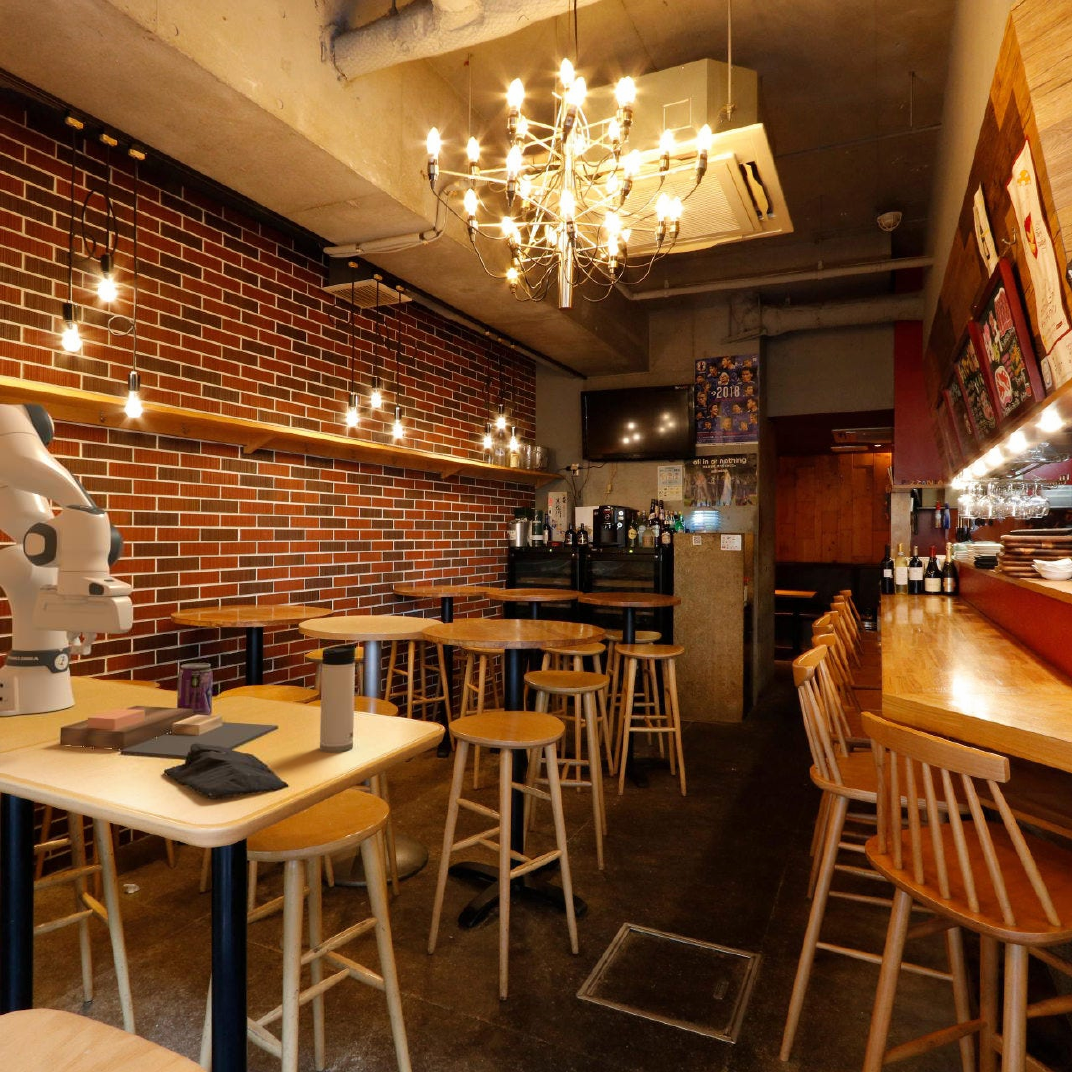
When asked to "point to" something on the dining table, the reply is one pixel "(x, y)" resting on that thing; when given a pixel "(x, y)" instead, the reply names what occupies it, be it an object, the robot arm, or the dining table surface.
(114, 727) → the tilted orange prism
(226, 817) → the dining table surface
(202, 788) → the crumpled black cloth
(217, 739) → the mat
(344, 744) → the travel mug
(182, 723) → the tan rectangular block
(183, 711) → the walnut board
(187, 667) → the beverage can
